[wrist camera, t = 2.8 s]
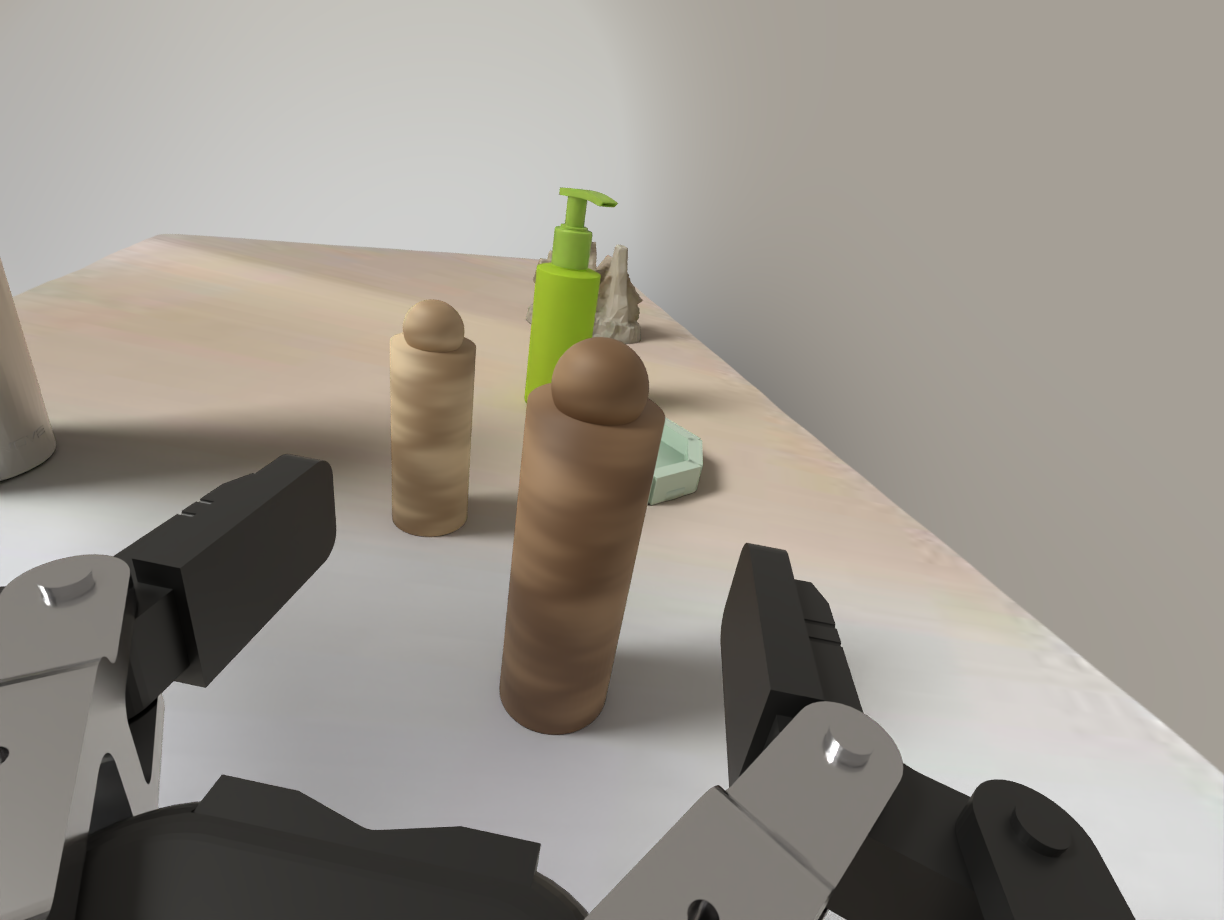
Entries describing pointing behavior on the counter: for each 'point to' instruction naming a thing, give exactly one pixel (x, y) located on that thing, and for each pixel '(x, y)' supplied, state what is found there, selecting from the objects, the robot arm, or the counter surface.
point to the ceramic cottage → (611, 298)
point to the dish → (676, 464)
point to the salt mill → (431, 420)
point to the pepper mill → (577, 533)
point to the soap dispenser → (564, 291)
